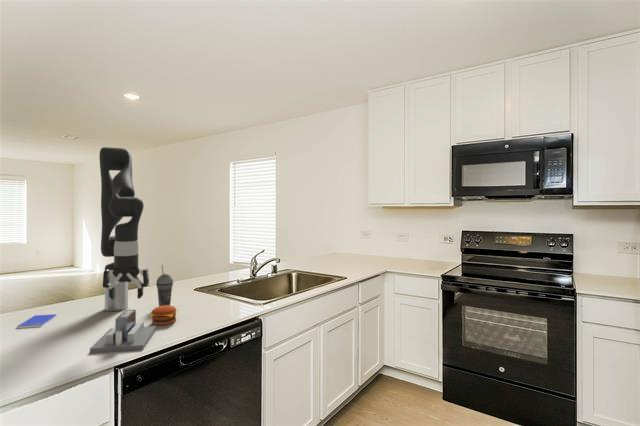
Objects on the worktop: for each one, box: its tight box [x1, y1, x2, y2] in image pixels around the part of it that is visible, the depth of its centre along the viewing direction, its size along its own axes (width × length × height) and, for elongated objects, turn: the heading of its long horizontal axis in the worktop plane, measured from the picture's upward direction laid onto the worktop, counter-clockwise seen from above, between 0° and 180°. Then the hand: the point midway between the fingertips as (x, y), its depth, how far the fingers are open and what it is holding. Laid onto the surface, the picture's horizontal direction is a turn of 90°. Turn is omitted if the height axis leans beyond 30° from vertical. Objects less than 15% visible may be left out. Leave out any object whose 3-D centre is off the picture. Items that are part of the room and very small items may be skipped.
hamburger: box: [149, 305, 179, 327], centre depth 142 cm, size 9×10×7 cm
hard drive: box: [16, 313, 58, 329], centre depth 139 cm, size 2×8×12 cm
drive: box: [114, 309, 137, 342], centre depth 122 cm, size 10×4×8 cm, turn 12°
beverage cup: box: [155, 264, 174, 307], centre depth 160 cm, size 7×7×20 cm
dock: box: [89, 321, 157, 354], centre depth 123 cm, size 18×16×6 cm
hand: (126, 298), depth 122 cm, fingers open, 8 cm apart
